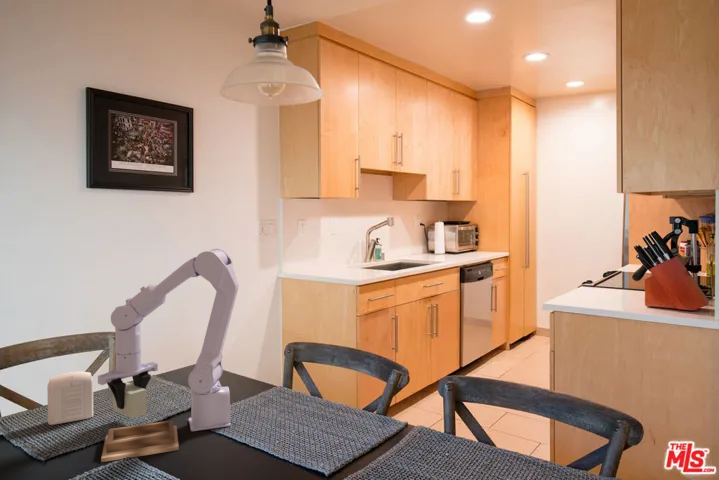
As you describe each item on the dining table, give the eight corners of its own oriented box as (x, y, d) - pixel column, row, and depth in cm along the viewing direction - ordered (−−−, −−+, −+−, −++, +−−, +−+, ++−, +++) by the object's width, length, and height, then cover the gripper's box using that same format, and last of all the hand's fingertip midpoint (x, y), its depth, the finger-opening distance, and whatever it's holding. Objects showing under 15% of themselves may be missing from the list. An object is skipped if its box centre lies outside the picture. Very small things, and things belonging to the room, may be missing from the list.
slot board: (176, 428, 126) (176, 417, 126) (178, 449, 115) (178, 437, 115) (106, 438, 120) (105, 427, 120) (101, 462, 109) (100, 449, 109)
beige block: (128, 404, 133) (127, 382, 133) (146, 413, 128) (146, 389, 127) (112, 409, 130) (112, 386, 130) (131, 418, 125) (130, 394, 124)
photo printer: (92, 412, 136) (91, 367, 135) (94, 418, 132) (93, 371, 132) (47, 421, 130) (46, 373, 129) (48, 427, 127) (46, 378, 126)
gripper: (147, 343, 136) (148, 393, 137) (91, 355, 125) (92, 410, 126) (161, 347, 132) (162, 399, 133) (105, 360, 120) (106, 417, 121)
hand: (129, 405), depth 129 cm, fingers closed on beige block, 4 cm apart
